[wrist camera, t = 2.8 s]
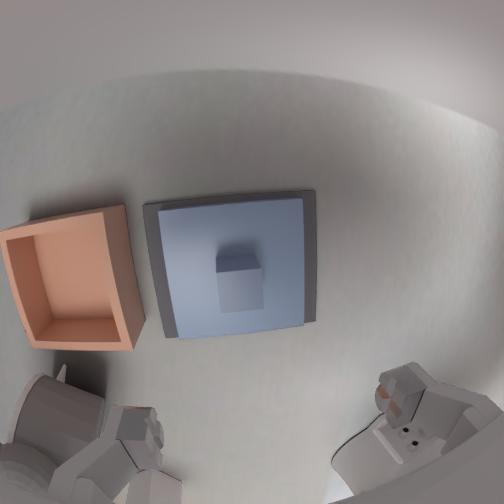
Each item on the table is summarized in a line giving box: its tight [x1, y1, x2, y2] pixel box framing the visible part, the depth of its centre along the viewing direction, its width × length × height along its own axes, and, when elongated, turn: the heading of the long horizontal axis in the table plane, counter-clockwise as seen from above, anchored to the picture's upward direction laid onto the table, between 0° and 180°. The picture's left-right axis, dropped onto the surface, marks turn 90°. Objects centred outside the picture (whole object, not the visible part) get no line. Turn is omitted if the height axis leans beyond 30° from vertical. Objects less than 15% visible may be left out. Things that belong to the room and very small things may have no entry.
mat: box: [142, 190, 317, 338], centre depth 24 cm, size 14×12×1 cm
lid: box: [158, 198, 304, 339], centre depth 21 cm, size 11×11×5 cm
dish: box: [0, 204, 145, 351], centre depth 20 cm, size 11×11×5 cm
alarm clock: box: [0, 364, 105, 497], centre depth 16 cm, size 16×9×22 cm, turn 155°
